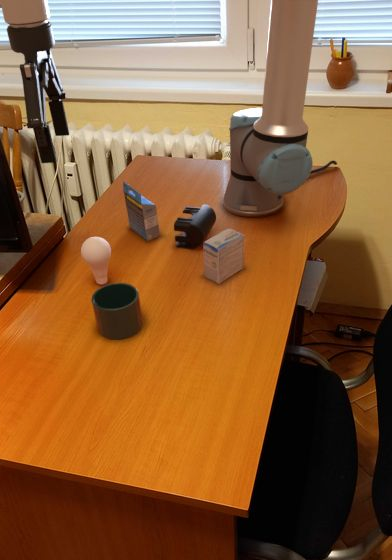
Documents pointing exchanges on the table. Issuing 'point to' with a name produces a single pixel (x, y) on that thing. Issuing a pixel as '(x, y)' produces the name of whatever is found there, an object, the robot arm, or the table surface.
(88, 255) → the lightbulb
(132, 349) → the table surface
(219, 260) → the medicine box
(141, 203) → the label tape box
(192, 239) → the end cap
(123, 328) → the pen cup
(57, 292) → the table surface
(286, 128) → the robot arm
